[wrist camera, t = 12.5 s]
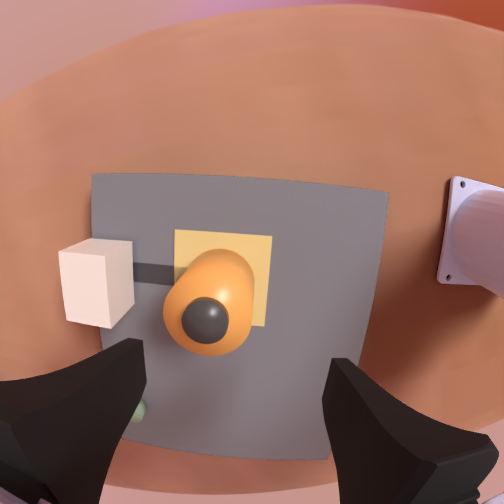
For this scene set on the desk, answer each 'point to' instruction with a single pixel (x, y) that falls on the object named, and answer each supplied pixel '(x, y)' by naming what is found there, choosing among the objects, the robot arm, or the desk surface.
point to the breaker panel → (264, 304)
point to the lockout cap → (211, 304)
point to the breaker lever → (97, 281)
